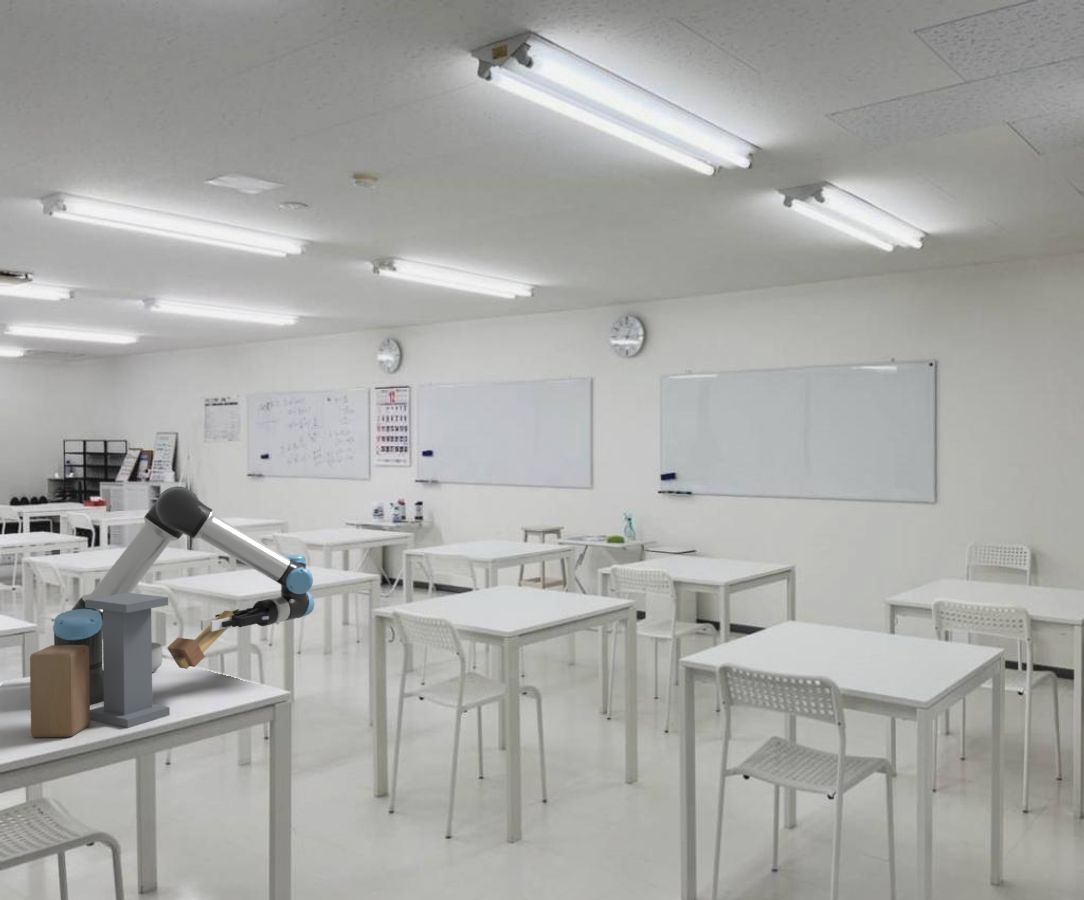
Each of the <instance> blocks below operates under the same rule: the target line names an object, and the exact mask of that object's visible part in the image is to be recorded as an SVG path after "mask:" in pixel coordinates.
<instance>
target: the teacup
mask: <svg viewBox="0 0 1084 900" xmlns="http://www.w3.org/2000/svg"><path fill="white" fill-rule="evenodd" d="M162 663H163V644H162V643H160V642H156V641H155V642H154V641H152V673H155V672H156V671H157V670H158V669H159V668H160V667H161V666H162Z"/></svg>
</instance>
